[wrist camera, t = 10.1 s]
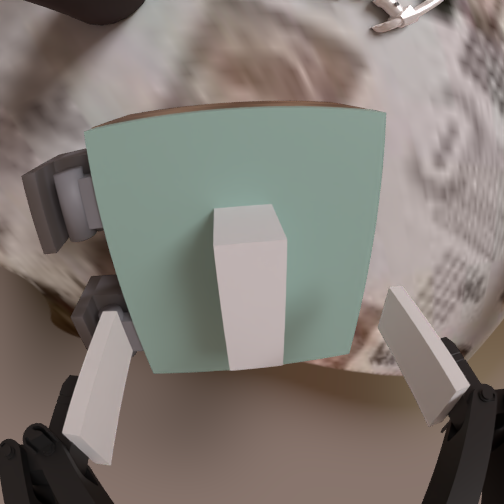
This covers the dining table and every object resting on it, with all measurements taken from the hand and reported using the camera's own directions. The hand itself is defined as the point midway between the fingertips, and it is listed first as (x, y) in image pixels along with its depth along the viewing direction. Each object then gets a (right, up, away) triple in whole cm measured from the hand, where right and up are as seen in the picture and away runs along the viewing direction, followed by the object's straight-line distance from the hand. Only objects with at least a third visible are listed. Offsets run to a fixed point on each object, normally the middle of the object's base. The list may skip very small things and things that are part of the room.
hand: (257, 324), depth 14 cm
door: (-2, +3, +5) cm, 6 cm away
